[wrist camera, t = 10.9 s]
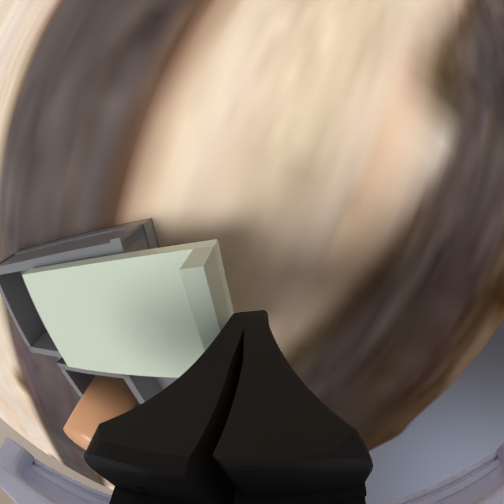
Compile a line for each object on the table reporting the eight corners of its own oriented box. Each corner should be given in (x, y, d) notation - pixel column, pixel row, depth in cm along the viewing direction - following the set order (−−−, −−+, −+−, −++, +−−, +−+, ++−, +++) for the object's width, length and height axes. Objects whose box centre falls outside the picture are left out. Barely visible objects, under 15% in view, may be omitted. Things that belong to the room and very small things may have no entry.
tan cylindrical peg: (150, 397, 19) (123, 464, 12) (112, 392, 19) (83, 450, 13) (131, 364, 17) (94, 435, 11) (93, 360, 18) (53, 420, 11)
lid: (246, 365, 13) (242, 404, 11) (73, 359, 14) (55, 384, 12) (217, 239, 11) (203, 266, 8) (30, 269, 12) (2, 288, 9)
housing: (214, 405, 20) (208, 438, 17) (89, 392, 21) (76, 415, 18) (150, 217, 14) (121, 237, 11) (17, 250, 16) (-10, 267, 13)
